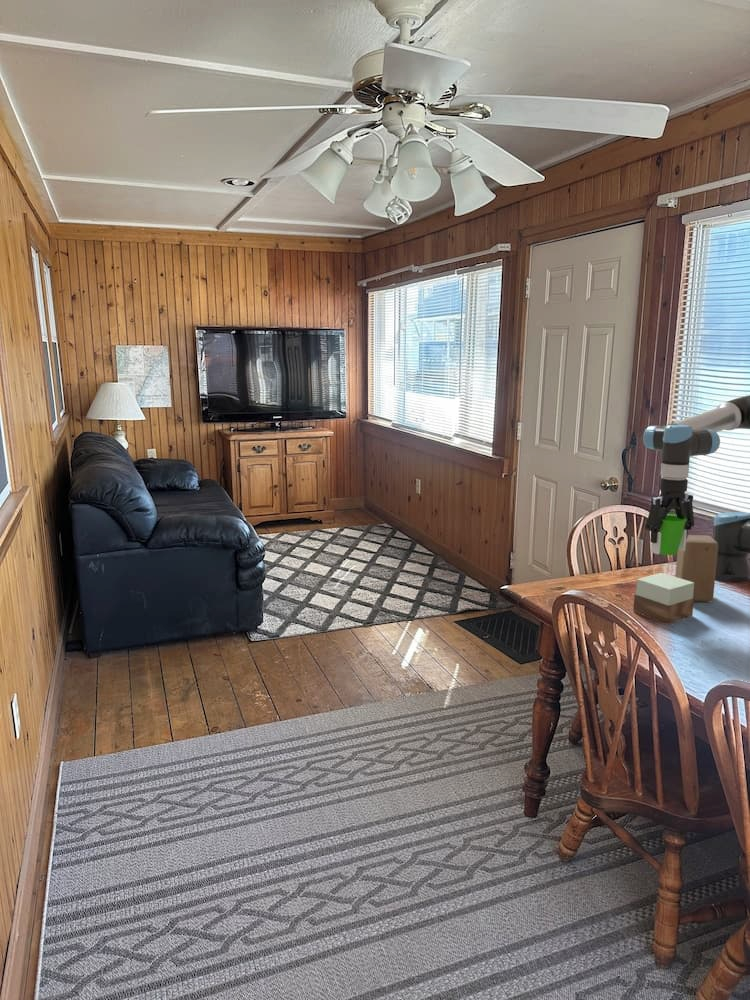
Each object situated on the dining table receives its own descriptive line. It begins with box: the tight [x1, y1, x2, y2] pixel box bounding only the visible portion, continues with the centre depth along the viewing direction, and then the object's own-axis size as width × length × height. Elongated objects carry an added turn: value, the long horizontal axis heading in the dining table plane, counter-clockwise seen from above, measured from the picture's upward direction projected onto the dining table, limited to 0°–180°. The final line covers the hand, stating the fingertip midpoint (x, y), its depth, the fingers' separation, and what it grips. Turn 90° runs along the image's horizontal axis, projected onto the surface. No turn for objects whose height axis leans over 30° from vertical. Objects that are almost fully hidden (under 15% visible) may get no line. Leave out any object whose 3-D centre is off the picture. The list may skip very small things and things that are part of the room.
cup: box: [659, 513, 687, 556], centre depth 203 cm, size 9×9×11 cm
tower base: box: [632, 593, 695, 625], centre depth 208 cm, size 12×12×6 cm
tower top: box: [635, 572, 694, 606], centre depth 206 cm, size 12×12×5 cm
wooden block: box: [674, 534, 718, 603], centre depth 220 cm, size 10×10×20 cm
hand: (668, 551), depth 204 cm, fingers closed on cup, 9 cm apart
